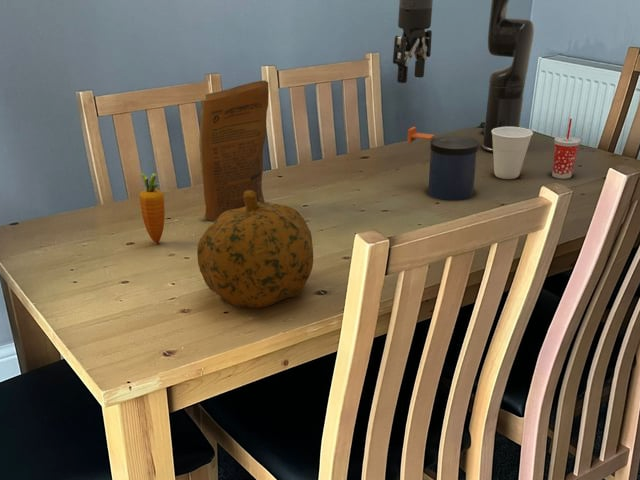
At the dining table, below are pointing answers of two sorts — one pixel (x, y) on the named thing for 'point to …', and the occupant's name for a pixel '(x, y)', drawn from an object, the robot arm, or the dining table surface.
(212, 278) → the decorative pumpkin
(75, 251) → the dining table surface
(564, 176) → the beverage cup
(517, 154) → the cup
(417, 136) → the slider
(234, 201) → the pancake mix bag
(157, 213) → the carrot
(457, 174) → the blue lidded canister
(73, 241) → the dining table surface
